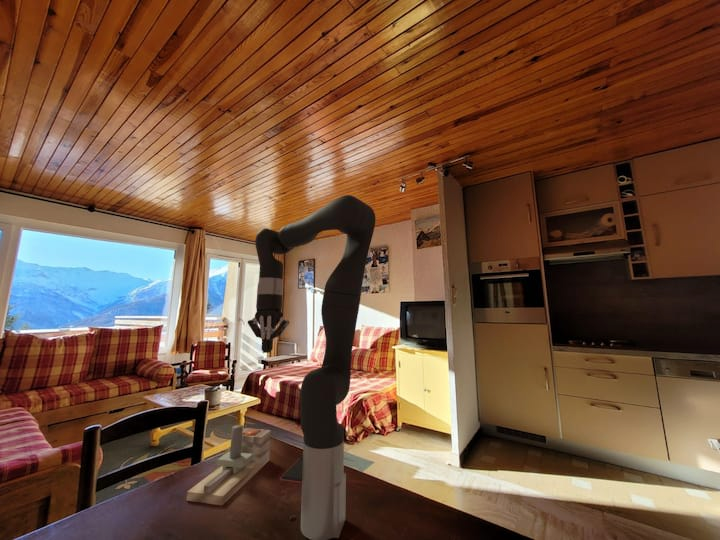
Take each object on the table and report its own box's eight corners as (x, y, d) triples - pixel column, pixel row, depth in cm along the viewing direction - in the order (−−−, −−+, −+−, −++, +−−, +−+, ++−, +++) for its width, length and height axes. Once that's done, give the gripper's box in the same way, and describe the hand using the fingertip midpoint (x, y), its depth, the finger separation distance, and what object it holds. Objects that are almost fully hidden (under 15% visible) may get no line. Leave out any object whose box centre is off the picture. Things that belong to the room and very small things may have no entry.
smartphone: (320, 459, 93) (301, 482, 79) (319, 461, 92) (301, 484, 79) (299, 456, 94) (278, 478, 81) (299, 458, 94) (278, 481, 81)
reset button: (260, 440, 92) (260, 429, 93) (253, 445, 88) (254, 434, 89) (248, 439, 93) (249, 429, 94) (241, 444, 89) (242, 433, 90)
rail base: (269, 460, 92) (270, 430, 93) (222, 505, 69) (225, 464, 71) (240, 457, 94) (243, 427, 95) (186, 500, 71) (190, 460, 73)
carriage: (252, 465, 84) (254, 424, 86) (242, 474, 79) (244, 430, 81) (227, 462, 85) (230, 422, 87) (216, 471, 81) (219, 428, 83)
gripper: (295, 294, 90) (293, 351, 87) (256, 295, 92) (253, 350, 89) (284, 292, 83) (281, 354, 80) (243, 293, 85) (238, 353, 82)
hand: (266, 352), depth 84 cm, fingers closed
